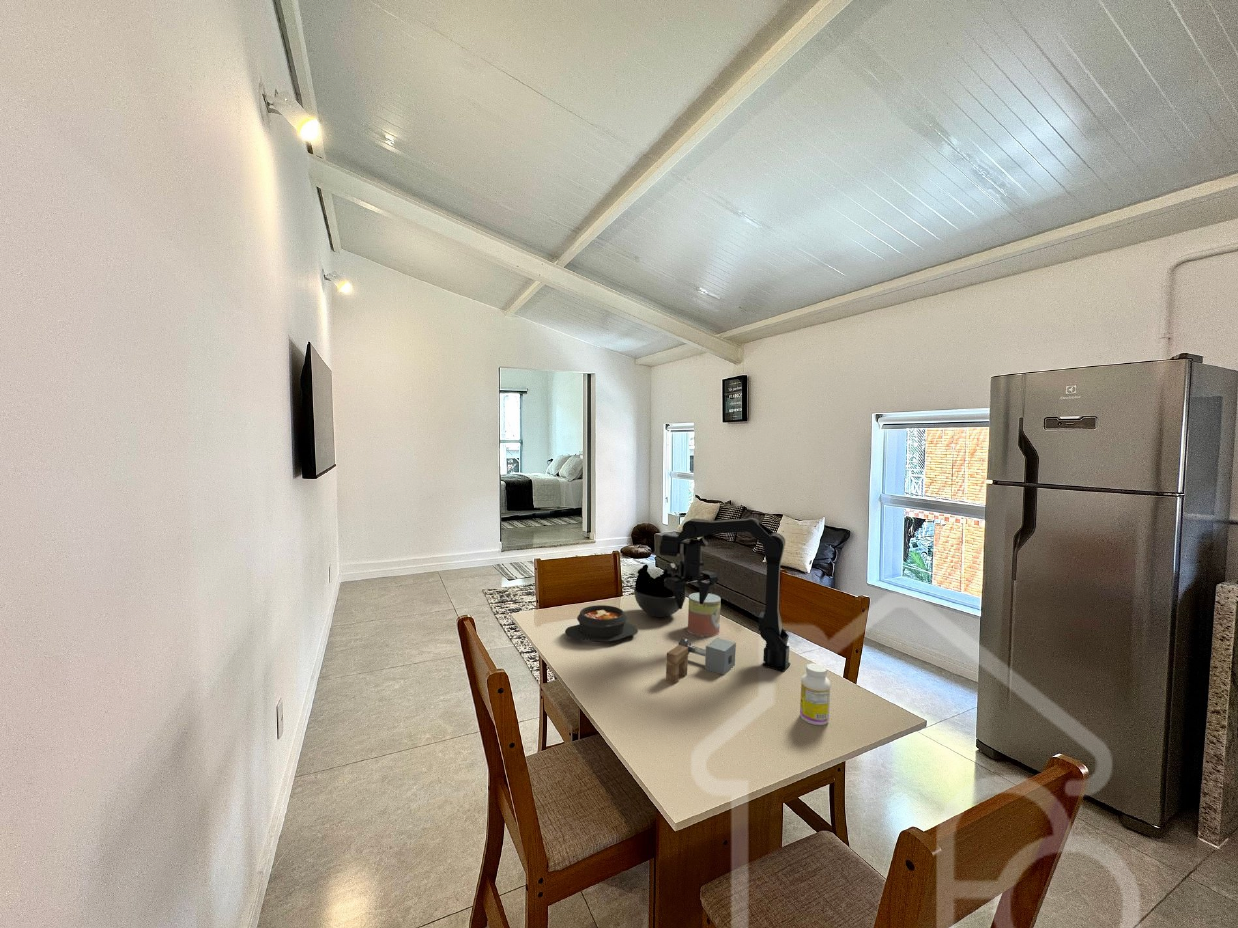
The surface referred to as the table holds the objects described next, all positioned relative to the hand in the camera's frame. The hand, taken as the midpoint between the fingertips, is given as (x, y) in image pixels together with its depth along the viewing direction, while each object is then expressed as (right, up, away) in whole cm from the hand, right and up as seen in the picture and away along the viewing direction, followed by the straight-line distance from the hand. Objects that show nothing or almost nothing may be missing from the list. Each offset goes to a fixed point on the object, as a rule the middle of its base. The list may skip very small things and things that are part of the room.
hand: (690, 606), depth 163 cm
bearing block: (+7, -15, -12) cm, 20 cm away
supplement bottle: (+25, -17, -39) cm, 49 cm away
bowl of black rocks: (-8, -13, +31) cm, 34 cm away
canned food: (+7, -14, +17) cm, 23 cm away
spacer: (-7, -15, -20) cm, 25 cm away
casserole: (-29, -13, +9) cm, 33 cm away
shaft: (+2, -14, -9) cm, 16 cm away
